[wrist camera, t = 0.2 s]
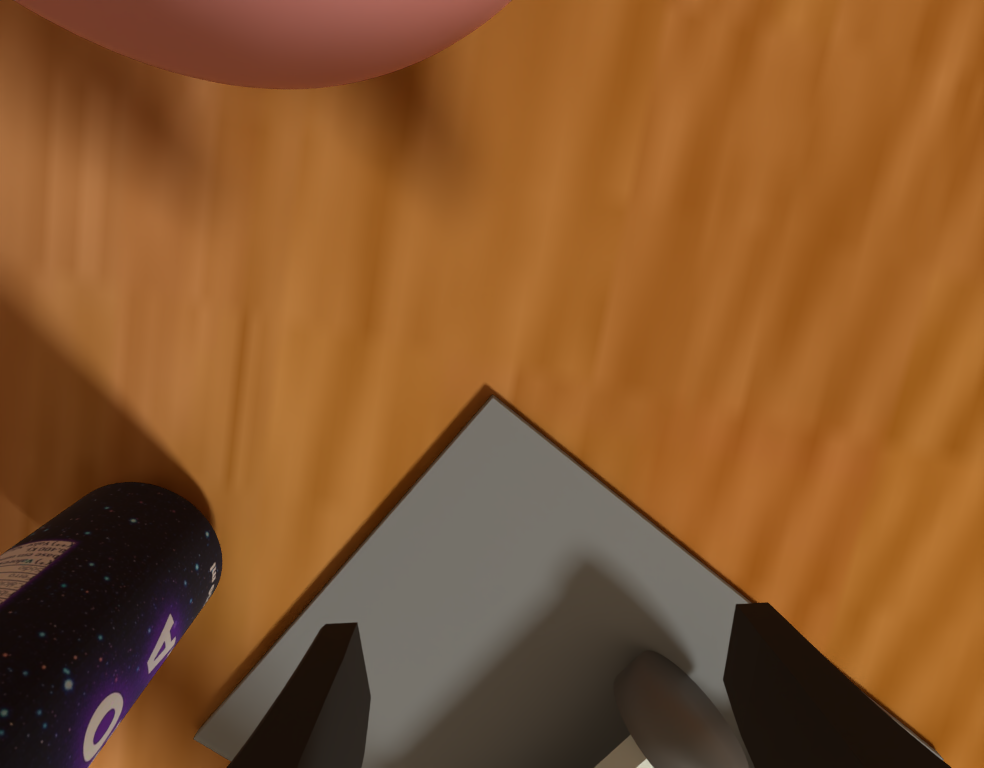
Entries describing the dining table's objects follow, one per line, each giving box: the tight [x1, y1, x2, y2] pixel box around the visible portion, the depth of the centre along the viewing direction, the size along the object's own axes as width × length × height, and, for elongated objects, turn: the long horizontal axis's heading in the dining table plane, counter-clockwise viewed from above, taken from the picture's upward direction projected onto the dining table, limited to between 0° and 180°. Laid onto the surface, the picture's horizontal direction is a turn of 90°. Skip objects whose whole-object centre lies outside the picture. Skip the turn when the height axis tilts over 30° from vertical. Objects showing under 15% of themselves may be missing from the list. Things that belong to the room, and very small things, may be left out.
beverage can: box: [0, 482, 222, 768], centre depth 17 cm, size 6×6×12 cm
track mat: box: [194, 395, 944, 768], centre depth 25 cm, size 19×25×1 cm
